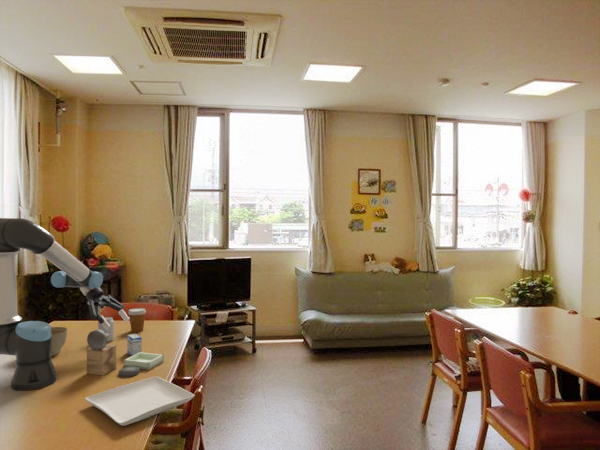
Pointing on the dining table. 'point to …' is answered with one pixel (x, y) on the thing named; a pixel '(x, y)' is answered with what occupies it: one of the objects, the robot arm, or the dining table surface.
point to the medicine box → (134, 344)
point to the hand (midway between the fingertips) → (118, 324)
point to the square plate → (139, 400)
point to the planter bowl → (58, 339)
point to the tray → (144, 360)
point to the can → (110, 329)
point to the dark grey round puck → (129, 371)
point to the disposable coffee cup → (137, 319)
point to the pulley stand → (100, 353)
